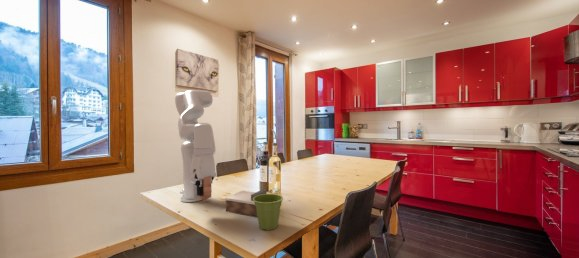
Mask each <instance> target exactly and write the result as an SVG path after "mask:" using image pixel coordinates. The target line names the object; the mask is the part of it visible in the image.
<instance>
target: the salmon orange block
mask: <svg viewBox="0 0 579 258" xmlns="http://www.w3.org/2000/svg"><path fill="white" fill-rule="evenodd" d="M199 183H200V181H199ZM202 186H203V196H198V199H203V200H207V199H210V198H212V192H211V191H212V184H211V176H208V177H204V179H203V183H202Z"/></svg>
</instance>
